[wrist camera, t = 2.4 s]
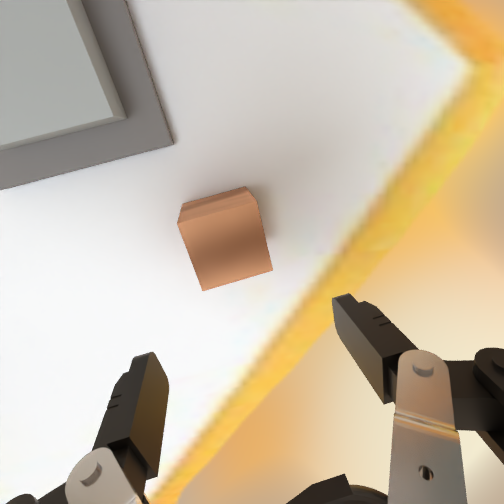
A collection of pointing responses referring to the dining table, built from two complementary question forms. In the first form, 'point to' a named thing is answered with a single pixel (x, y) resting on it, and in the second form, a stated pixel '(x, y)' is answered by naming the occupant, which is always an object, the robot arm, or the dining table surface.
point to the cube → (224, 238)
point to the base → (109, 136)
